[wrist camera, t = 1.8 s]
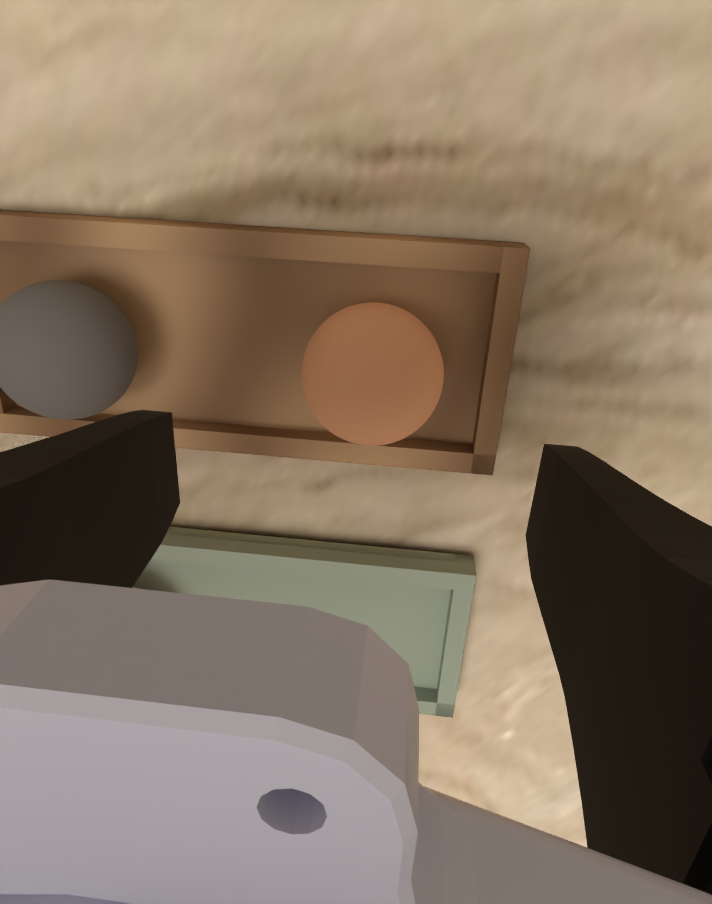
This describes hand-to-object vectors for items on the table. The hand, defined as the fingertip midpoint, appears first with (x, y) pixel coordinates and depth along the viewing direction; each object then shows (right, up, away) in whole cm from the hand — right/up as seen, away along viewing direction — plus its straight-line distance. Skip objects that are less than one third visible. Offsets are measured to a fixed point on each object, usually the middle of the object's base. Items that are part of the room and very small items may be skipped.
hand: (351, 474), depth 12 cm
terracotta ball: (+1, +3, +5) cm, 6 cm away
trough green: (-4, -6, +13) cm, 15 cm away
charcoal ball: (-8, +3, +6) cm, 11 cm away
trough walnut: (-4, +4, +8) cm, 10 cm away
